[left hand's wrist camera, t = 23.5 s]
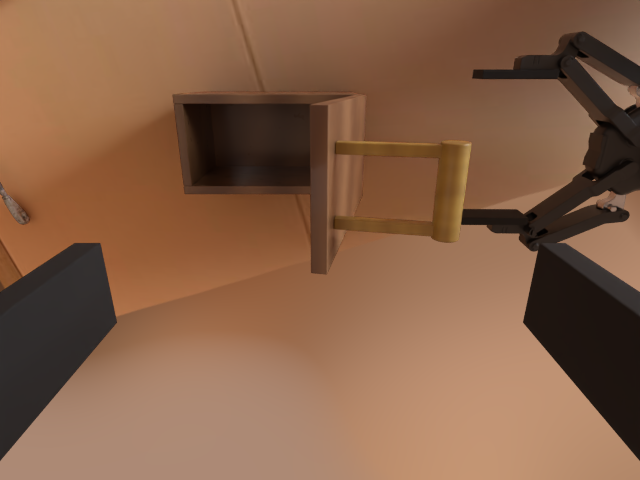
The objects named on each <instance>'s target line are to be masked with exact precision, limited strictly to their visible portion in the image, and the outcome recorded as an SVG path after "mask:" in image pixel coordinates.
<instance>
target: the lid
mask: <svg viewBox="0 0 640 480" xmlns="http://www.w3.org/2000/svg"><path fill="white" fill-rule="evenodd" d="M366 96H367V95H352V96H348V97H343V98H339V99H334V100H329V101H325V102H320V103H316V104H311V105H310V195H311V273H317V274H327V273H328V271H329V269H330V266H331V264H332V262H333V260H334V258H335V255H336V253H337V251H338V249H339V247H340V244H341V242H342V240H343V238H344V236H345V233H346V231H347V230H351V231H365V232H378V233H392V234H406V235H420V236H431V238H432V239H434V240H436V241H439V242H446V243H451V242H456V241H458V240H459V235H460V227H461V220H462V212H463V205H464V197H465V189H466V182H467V174H468V167H469V159H470V152H471V142H468V141H461V140H445V141H441V144H437V143H403V142H369V141H365V121H366ZM364 155H366V156H393V157H421V158H439V163H438V172H437V182H436V191H435V200H434V210H433V219H432V222H427V221H412V220H396V219H381V218H366V217H353V216H354V213H355V211H356V209H357V207H358V205H359V202H360V200H361V198H362V196H363V172H364Z"/></svg>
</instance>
